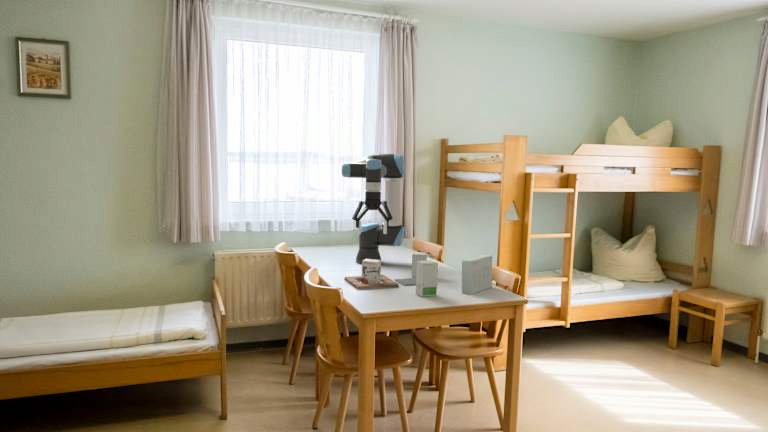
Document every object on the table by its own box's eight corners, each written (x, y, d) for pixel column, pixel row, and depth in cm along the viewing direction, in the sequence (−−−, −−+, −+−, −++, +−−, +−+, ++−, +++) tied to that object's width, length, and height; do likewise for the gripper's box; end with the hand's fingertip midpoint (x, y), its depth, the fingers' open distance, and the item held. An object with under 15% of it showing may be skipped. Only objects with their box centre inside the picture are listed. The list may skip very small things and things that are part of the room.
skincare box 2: (482, 285, 269) (483, 254, 268) (492, 287, 266) (493, 255, 264) (460, 292, 253) (461, 259, 251) (470, 295, 250) (471, 261, 248)
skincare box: (421, 297, 243) (422, 263, 241) (414, 293, 249) (415, 260, 247) (437, 295, 246) (438, 262, 245) (430, 292, 252) (431, 259, 251)
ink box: (360, 283, 267) (361, 260, 265) (364, 281, 271) (365, 258, 270) (377, 285, 264) (377, 261, 263) (380, 283, 268) (381, 260, 267)
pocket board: (344, 279, 274) (344, 277, 273) (383, 277, 281) (383, 274, 281) (357, 289, 254) (357, 286, 254) (398, 286, 262) (398, 283, 261)
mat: (394, 280, 275) (394, 279, 275) (416, 279, 280) (416, 277, 280) (403, 285, 264) (403, 284, 264) (425, 284, 268) (425, 283, 268)
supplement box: (425, 278, 281) (425, 254, 280) (411, 277, 283) (411, 253, 281) (426, 275, 289) (427, 252, 287) (413, 274, 290) (413, 251, 289)
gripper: (351, 191, 255) (350, 235, 257) (399, 191, 264) (398, 234, 266) (346, 190, 262) (345, 233, 264) (393, 190, 271) (392, 232, 273)
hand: (372, 234), depth 265 cm, fingers open, 13 cm apart
